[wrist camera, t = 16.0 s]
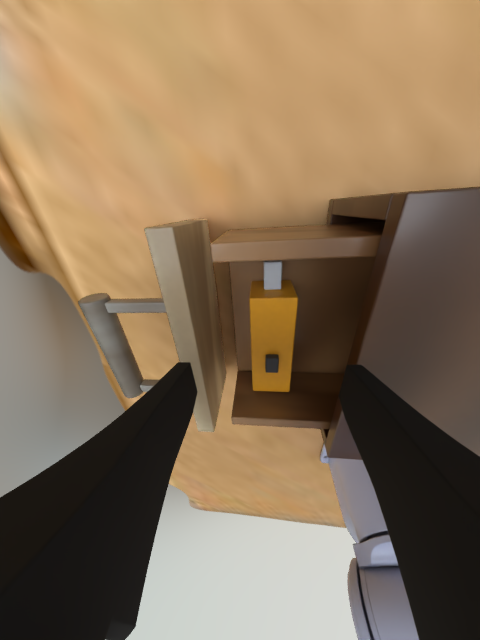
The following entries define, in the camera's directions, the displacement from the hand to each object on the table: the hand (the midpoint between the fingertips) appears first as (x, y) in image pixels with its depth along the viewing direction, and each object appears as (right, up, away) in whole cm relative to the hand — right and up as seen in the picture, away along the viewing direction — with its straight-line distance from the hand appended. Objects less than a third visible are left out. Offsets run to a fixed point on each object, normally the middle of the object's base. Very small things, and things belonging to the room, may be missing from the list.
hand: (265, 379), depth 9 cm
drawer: (0, +3, +6) cm, 7 cm away
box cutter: (+1, +3, +5) cm, 6 cm away
